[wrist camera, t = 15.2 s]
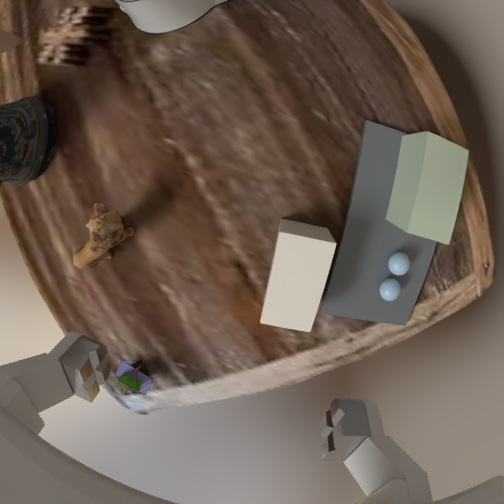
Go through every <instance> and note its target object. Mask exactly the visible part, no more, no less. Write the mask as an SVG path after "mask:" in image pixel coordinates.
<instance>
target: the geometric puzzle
mask: <svg viewBox="0 0 504 504" xmlns="http://www.w3.org/2000/svg"><path fill="white" fill-rule="evenodd" d="M133 361H137V360H133ZM142 362H144V360H143V361H141V364H142ZM138 363H139V362H138ZM135 364H136V363H135ZM141 364H140V365H139V366H138V367H137V368H134V367H133V366H131V365H130V364H128V363H126V362H125V361H123V360H122V361H121V364H120V366H119V368H118V370H117V373H116V375H115V377H116V383H117V387H118V388H119V389H120V390H121V391H122V393H123V394H124V395H125V393H126V392H127V391H128V390H129V388H130V387H131V388H133V389H134V390H136V391H137V392H138V391H140V393H141V392H142V394H145V395H146V392H147V390H148V389H149V387H150V385H151V383H152V381H153V380H154V379H152V378H150V377H149V376H147V375H148V374H147V375H145V374H144V373H142V372H141V371H139V369H140V366H141ZM132 365H133V364H132ZM144 365H145V364H144ZM145 369H146V368H145ZM146 372H147V371H146ZM149 373H150V372H149ZM150 375H151V374H150ZM117 377H118V378H117ZM133 393H134V392H133ZM128 394H129V393H128Z"/></svg>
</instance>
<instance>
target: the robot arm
mask: <svg viewBox="0 0 504 504" xmlns="http://www.w3.org/2000/svg"><path fill="white" fill-rule="evenodd" d="M116 1H117V2H118V4H119V5H120V8H121V10H122V11H123V12H125V13H127V14H128V15H129V16H130V18H131V20H132V21H133V23H134V25H135V26H136V27H137V28H139V29H140V30H142V31H145V32H150V33H162V32H168V31H172V30H175V29H178V28H181V27H183V26H186V25H188V24H190V23H192V22H193V21H195V20H197V19H198V18H200V17H201V16H202V15H204V14H205V13H206V12H207V11H208V10H210V9H211V8H212V7H213V6H215V5H217V4H220V3H222V2H225V1H227V0H116ZM107 353H108V350H107V346H106V345H104V344H102V343H99V342H97V341H95V340H93V339H91V338H89V337H86V336H84V335H82V334H80V333H78V332H76V331H71V332H69V333H68V334H67V335H66V336H65V337H64V338H63V339H62V340H61V341H60V342H59V343H58V344H57V346H55V348H53V349H52V351H51V352H50V353H49V354H46V353H43V354H40V355H37V356H33V357H30V358H27V359H23V360H20V361H16V362H13V363H9V364H6V365H2V366H0V504H177V503H174V502H171V501H168V500H164V499H161V498H158V497H155V496H153V495H150V494H147V493H144V492H142V491H139V490H137V489H134V488H131V487H129V486H127V485H124V484H122V483H120V482H118V481H115V480H113V479H111V478H109V477H107V476H105V475H103V474H101V473H99V472H97V471H95V470H93V469H91V468H89V467H87V466H86V465H84V464H82V463H80V462H78V461H77V460H75V459H73V458H72V457H70V456H68V455H67V454H65V453H63V452H62V451H60V450H59V449H57V448H56V447H54V446H52V445H51V444H50V443H48V442H47V441H45V440H44V439H42V438H41V437H40V436H38V434H39V432H40V431H41V430H42V428H43V427H44V421H43V420H42V418H41V417H40V416H39V414H38V413H39V412H41V411H43V410H45V409H47V408H50V407H52V406H53V405H56V404H57V403H60V402H61V401H63V400H65V399H67V398H69V397H71V396H73V395H74V394H75V395H77V396H79V397H81V398H83V399H85V400H87V401H89V402H92V401H93V400H94V398H95V397H96V396H97V394H98V393H99V391H100V389H99V385H101V384H104V383H105V382H106V381H107V379H108V378H109V375H110V372H111V363H110V360H109V359H108V358H107V356H106V354H107ZM321 436H322V437H323V439H324V440H325V441H324V442H323V443H322V445H321V456H322V460H328V461H344V463H345V465H346V466H347V468H348V469H349V471H350V472H351V474H352V475H353V476H354V478H355V479H356V480H357V482H358V484H359V485H360V486H361V488H362V489H363V491H364V492H365V493H366V495H367V496H368V497H367V498H365V499H363V500H361V501H360V502H358V503H357V504H504V477H503V476H496V477H493V478H491V479H489V480H487V481H485V482H483V483H481V484H479V485H477V486H474V487H473V488H470V489H467V490H465V491H462V492H460V493H458V494H455V495H453V496H449V497H447V498H444V499H441V500H438V501H435V502H433V501H432V495H431V490H430V486H429V481H428V477H427V473H426V472H425V471H424V470H423V469H422V468H421V467H420V466H419V465H418V464H417V463H416V462H415V461H413V460H412V459H411V458H410V457H409V456H408V455H407V454H406V453H405V452H404V451H403V450H402V449H401V448H400V447H399V446H398V445H397V444H396V443H395V442H394V441H393V440H392V439H391V438H390V437H389V436H385V434H384V429H383V425H382V421H381V417H380V413H379V409H378V405H377V402H376V401H375V400H355V399H334V400H333V402H332V403H331V410H329V411H327V412H326V413H325V415H324V416H323V419H322V422H321Z"/></svg>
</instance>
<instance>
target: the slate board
mask: <svg viewBox="0 0 504 504" xmlns="http://www.w3.org/2000/svg"><path fill="white" fill-rule="evenodd" d="M405 135H409V134H406V133H403V132H401V131H398V130H395V129H392V128H389V127H386V126H383V125H380V124H377V123H374V122H371V121H368V120H366V121H365V123H364V129H363V135H362V141H361V147H360V153H359V158H358V163H357V168H356V173H355V178H354V183H353V188H352V192H351V197H350V201H349V206H348V210H347V214H346V219H345V223H344V227H343V231H342V235H341V239H340V242H339V246H338V250H337V254H336V257H335V261H334V265H333V268H332V272H331V275H330V278H329V282H328V285H327V288H326V292H325V295H324V298H323V301H322V305H321V308H320V312H321V313H325V314H331V315H336V316H343V317H349V318H355V319H361V320H368V321H375V322H382V323H389V324H396V325H404V326H405V325H406V323H407V321H408V319H409V316H410V314H411V312H412V310H413V307H414V305H415V302H416V300H417V298H418V295H419V293H420V290H421V287H422V285H423V282H424V280H425V277H426V274H427V271H428V268H429V266H430V263H431V260H432V257H433V254H434V250H435V247H436V244H437V241H434V240H431V239H428V238H424V237H421V236H417V235H414V234H410V233H407V232H405V231H404V230H402V229H401V228H399V227H397V226H396V225H394V224H393V223H391V222H389V221H388V220H386V215H387V211H388V207H389V202H390V198H391V194H392V189H393V185H394V180H395V175H396V170H397V164H398V159H399V153H400V147H401V141H402V136H405ZM397 252H402V253H404V254H406V255H407V256H408V258H409V260H410V267H409V270H408V271H407V272H406V273H405V274H404V275H400V276H398V275H395V274H393V273H392V272H391V271H390V269H389V266H388V262H389V259H390V257H391V256H392V255H393V254H394V253H397ZM389 278H392V279H395V280H397V281H398V282H399V284H400V286H401V292H400V295H399V296H398V298H397V299H395V300H393V301H387V300H385V299H383V298H382V297H381V295H380V285H381V283H382V282H383V281H384V280H386V279H389Z"/></svg>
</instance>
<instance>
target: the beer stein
mask: <svg viewBox="0 0 504 504" xmlns="http://www.w3.org/2000/svg"><path fill="white" fill-rule="evenodd" d="M55 141H56V118H55V113H54V110H53V109H52V107H51V106H50V105H49V103H48V102H46V101H43V100H40V99H38V98H36V97H24V98H22V99H20V100H18V101H15V102H12V103H8V104H4V105H0V185H1V183H2V181H5V182H9V183H12V184H15V185H24V184H26V183H28V182H30V181H32V180H35V179H36V178H38V177H39V176H40V175H41V174H42V173H44V171H45V169H46V167H47V166H48V164H49V162H50V160H51V157H52V154H53V151H54V147H55Z"/></svg>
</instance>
